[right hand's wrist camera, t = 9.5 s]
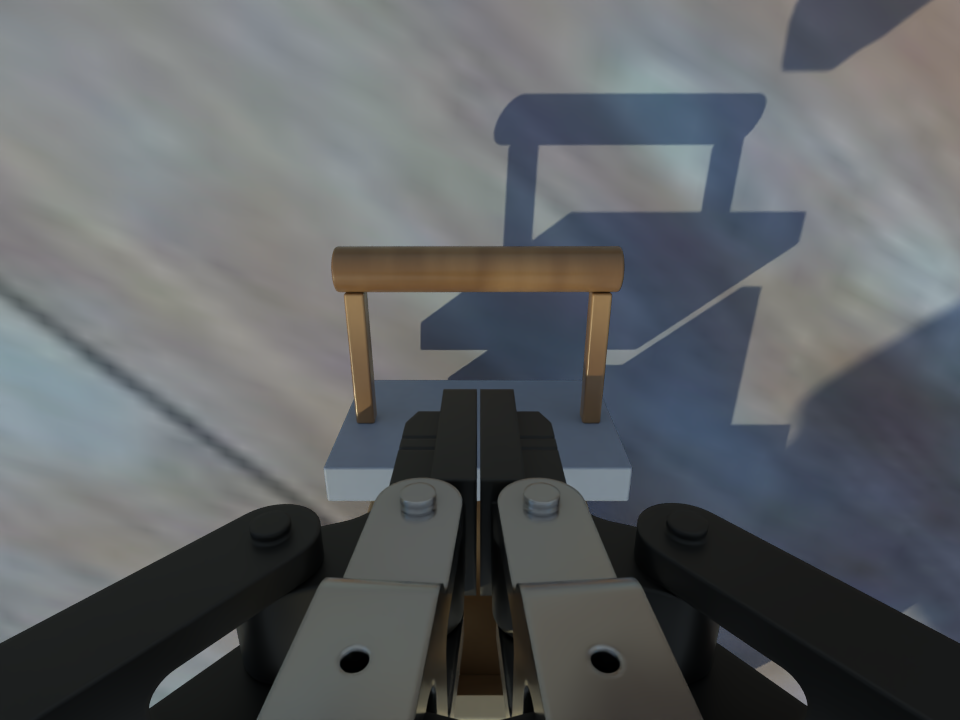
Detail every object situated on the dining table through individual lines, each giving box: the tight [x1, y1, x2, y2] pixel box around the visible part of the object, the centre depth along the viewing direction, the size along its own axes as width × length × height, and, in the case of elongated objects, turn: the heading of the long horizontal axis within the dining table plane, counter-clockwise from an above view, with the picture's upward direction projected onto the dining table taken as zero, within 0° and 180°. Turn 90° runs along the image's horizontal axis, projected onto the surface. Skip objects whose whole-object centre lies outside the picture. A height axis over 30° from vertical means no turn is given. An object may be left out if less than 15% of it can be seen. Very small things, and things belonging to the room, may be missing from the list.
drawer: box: [324, 246, 632, 695], centre depth 21 cm, size 21×9×6 cm, turn 0°
